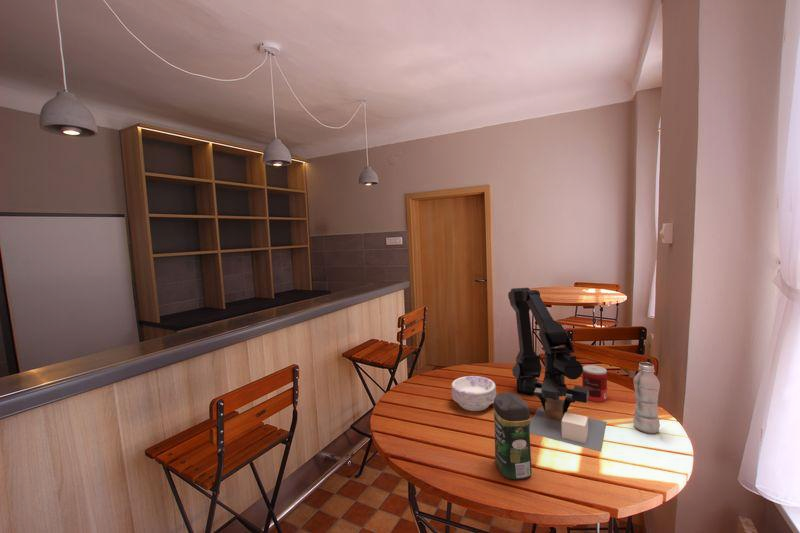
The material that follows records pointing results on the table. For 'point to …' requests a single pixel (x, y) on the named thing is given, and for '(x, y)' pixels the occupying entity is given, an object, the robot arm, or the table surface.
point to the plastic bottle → (646, 399)
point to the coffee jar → (512, 436)
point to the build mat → (554, 430)
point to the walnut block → (554, 409)
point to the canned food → (595, 382)
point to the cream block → (575, 427)
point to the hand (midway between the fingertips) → (555, 415)
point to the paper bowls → (473, 392)
